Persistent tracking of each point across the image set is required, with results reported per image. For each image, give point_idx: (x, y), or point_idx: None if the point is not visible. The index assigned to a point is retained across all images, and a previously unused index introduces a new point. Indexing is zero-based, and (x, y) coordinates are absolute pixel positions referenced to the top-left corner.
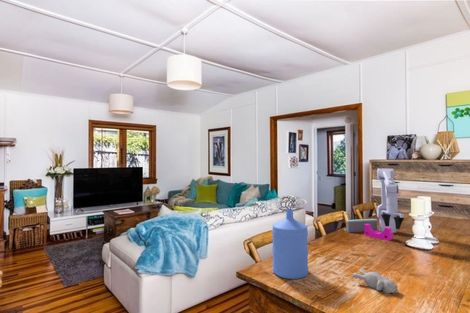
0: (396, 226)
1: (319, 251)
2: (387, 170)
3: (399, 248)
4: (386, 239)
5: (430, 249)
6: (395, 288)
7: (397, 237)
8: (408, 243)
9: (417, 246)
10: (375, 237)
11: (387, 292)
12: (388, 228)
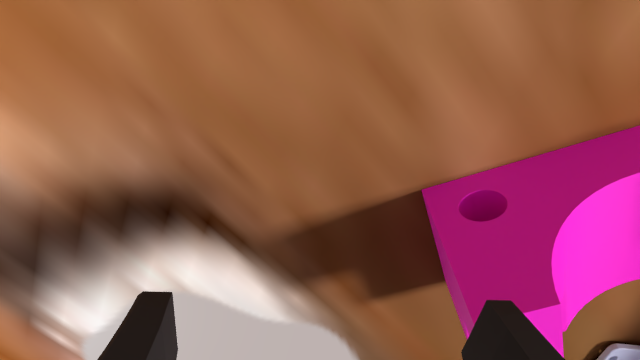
0: (109, 350)
1: None
2: None
3: (99, 28)
4: (460, 185)
5: (19, 309)
6: None
7: (449, 341)
8: (251, 286)
9: (135, 283)
10: (614, 137)
11: None
12: None
